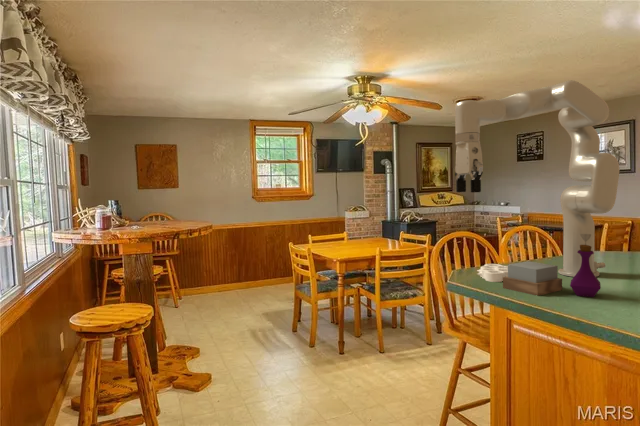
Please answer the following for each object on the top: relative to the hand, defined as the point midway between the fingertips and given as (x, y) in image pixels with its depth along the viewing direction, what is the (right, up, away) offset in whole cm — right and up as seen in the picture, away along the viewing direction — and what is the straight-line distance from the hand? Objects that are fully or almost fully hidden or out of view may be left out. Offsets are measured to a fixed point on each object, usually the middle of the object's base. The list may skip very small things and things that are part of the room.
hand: (468, 192), depth 143 cm
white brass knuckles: (+15, -30, +13) cm, 36 cm away
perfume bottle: (+29, -31, -15) cm, 45 cm away
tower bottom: (+18, -31, -6) cm, 37 cm away
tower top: (+18, -27, -7) cm, 33 cm away
